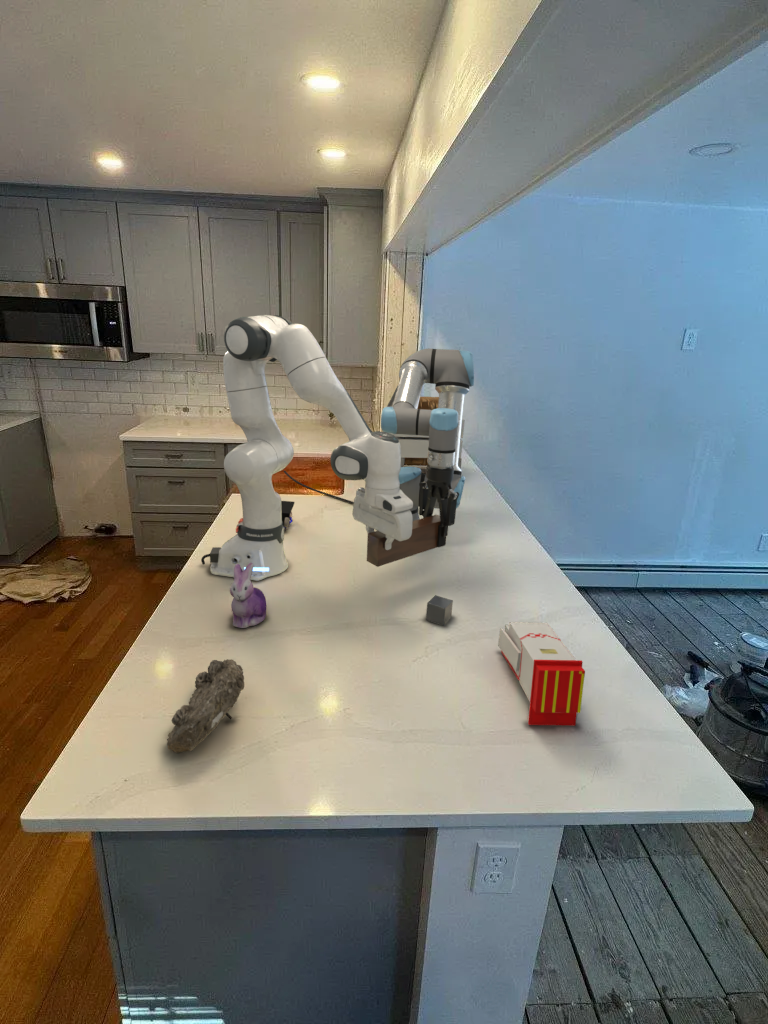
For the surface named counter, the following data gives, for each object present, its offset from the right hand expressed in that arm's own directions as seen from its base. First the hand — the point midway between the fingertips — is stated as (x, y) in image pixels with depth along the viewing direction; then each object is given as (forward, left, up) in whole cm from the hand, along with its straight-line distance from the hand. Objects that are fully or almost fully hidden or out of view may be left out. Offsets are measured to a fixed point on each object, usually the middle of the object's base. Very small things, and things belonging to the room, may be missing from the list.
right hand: (434, 542), depth 165 cm
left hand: (0, -21, +5) cm, 22 cm away
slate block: (+18, -16, -11) cm, 26 cm away
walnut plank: (0, -11, 0) cm, 11 cm away
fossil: (+18, -77, -11) cm, 80 cm away
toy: (+49, -19, -11) cm, 54 cm away
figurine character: (-60, -15, -11) cm, 63 cm away
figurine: (-10, -55, -11) cm, 57 cm away
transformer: (-84, +76, -11) cm, 114 cm away
